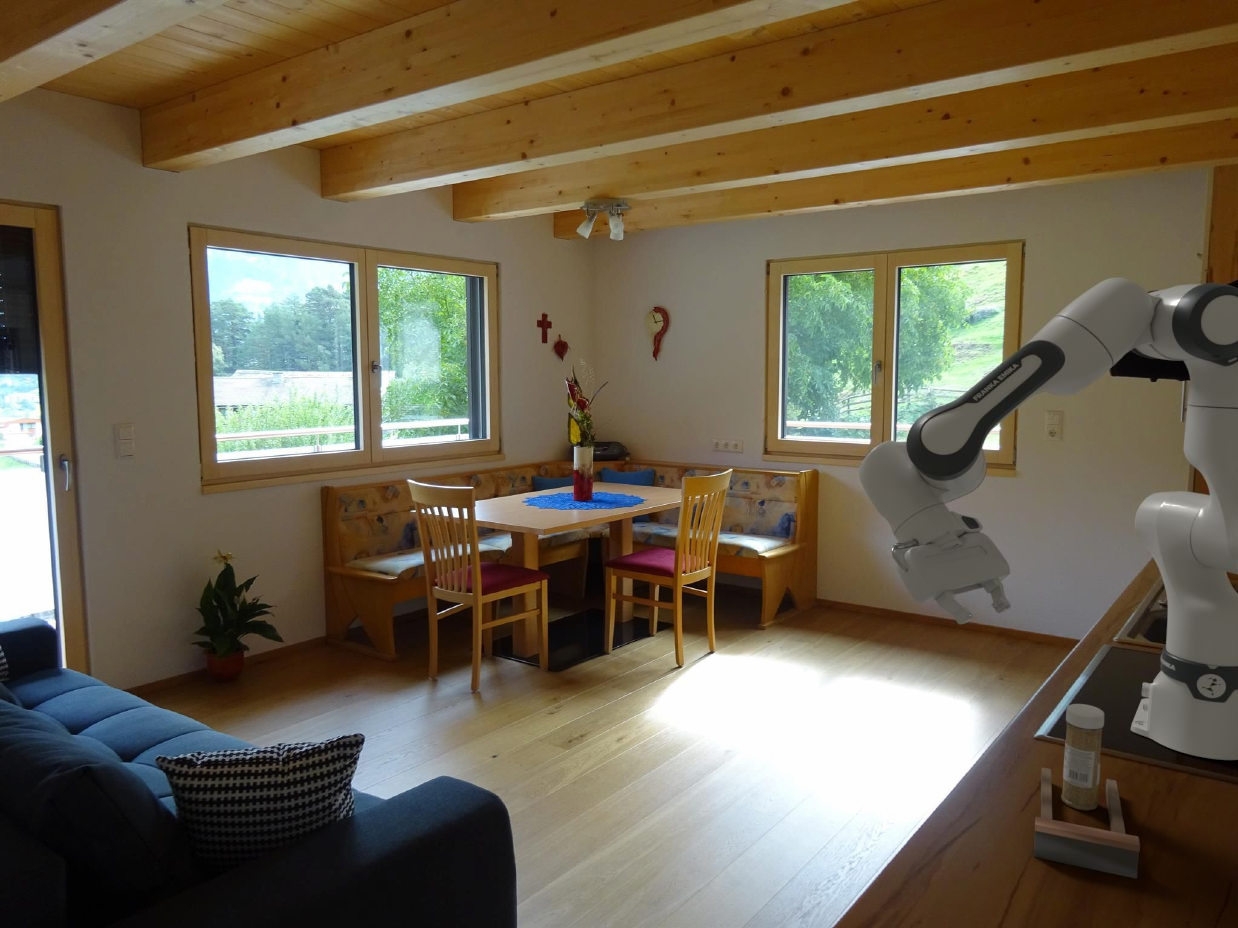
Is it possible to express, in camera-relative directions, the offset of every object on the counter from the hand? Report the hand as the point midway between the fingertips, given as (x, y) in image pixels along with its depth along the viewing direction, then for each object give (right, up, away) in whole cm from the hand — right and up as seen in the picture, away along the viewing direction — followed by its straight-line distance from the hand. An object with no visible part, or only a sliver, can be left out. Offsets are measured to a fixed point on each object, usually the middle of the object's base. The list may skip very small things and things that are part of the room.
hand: (986, 615), depth 130 cm
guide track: (+8, -25, -11) cm, 29 cm away
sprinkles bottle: (+10, -25, -6) cm, 27 cm away
